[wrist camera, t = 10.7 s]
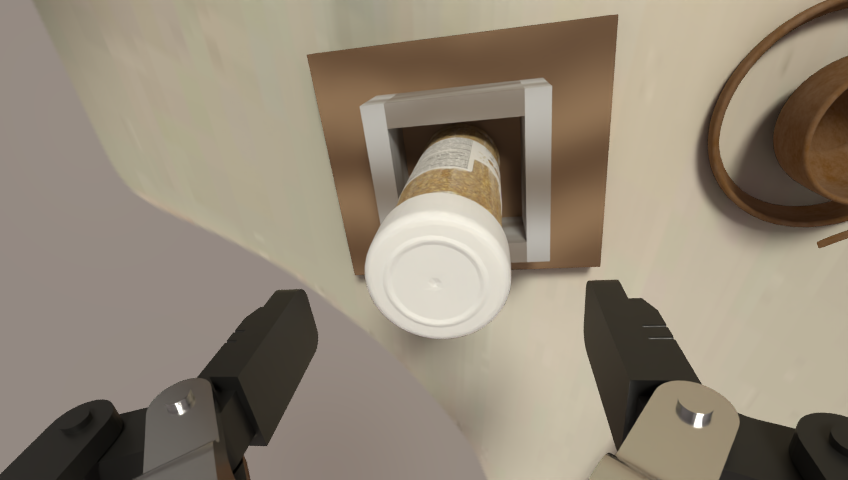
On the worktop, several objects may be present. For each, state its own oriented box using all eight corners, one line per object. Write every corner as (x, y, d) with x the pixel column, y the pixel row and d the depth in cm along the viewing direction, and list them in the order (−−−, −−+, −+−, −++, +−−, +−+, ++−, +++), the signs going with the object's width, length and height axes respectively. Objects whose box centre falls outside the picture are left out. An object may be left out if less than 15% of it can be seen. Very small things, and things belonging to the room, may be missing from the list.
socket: (316, 53, 24) (278, 59, 20) (610, 15, 22) (641, 12, 17) (360, 264, 30) (339, 304, 26) (594, 255, 28) (615, 298, 23)
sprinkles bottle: (502, 193, 25) (517, 343, 13) (427, 201, 26) (377, 347, 14) (496, 115, 23) (507, 207, 11) (415, 125, 24) (345, 222, 12)
